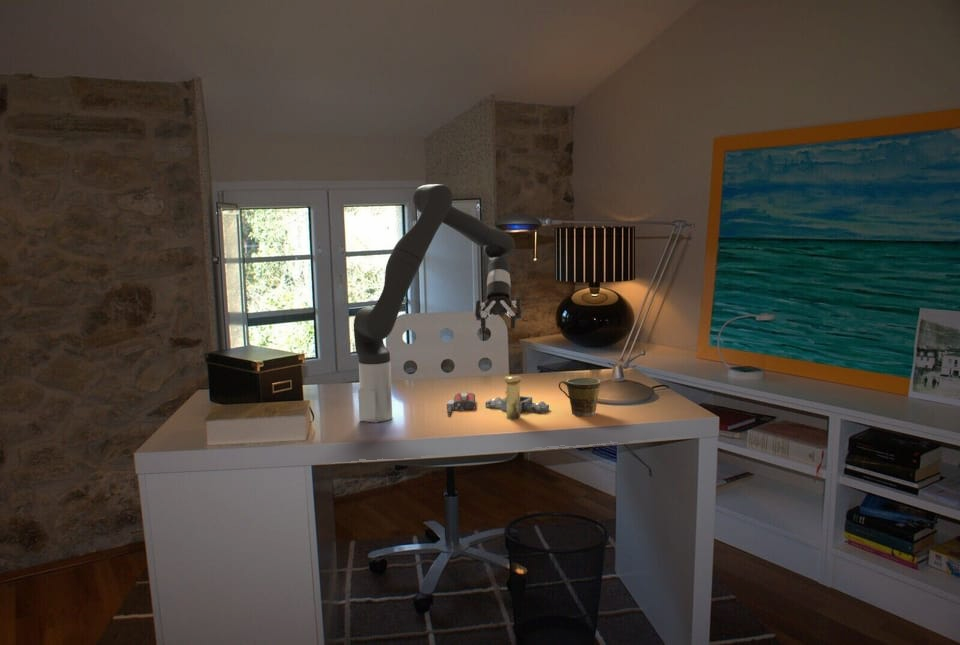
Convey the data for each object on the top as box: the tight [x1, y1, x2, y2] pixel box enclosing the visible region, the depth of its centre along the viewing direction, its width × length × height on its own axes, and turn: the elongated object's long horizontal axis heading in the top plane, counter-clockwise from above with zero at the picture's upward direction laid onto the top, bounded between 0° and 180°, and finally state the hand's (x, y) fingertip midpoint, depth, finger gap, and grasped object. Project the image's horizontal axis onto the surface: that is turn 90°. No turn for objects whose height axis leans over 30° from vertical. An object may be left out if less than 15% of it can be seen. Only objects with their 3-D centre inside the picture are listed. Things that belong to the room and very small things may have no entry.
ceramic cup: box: [558, 377, 601, 418], centre depth 218 cm, size 13×10×10 cm
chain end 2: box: [500, 395, 550, 414], centre depth 225 cm, size 8×14×3 cm, turn 62°
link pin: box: [504, 375, 522, 420], centre depth 215 cm, size 5×5×12 cm
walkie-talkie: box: [446, 391, 476, 415], centre depth 228 cm, size 9×4×20 cm
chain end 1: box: [484, 396, 503, 410], centre depth 229 cm, size 5×7×2 cm
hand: (498, 329), depth 225 cm, fingers open, 8 cm apart
